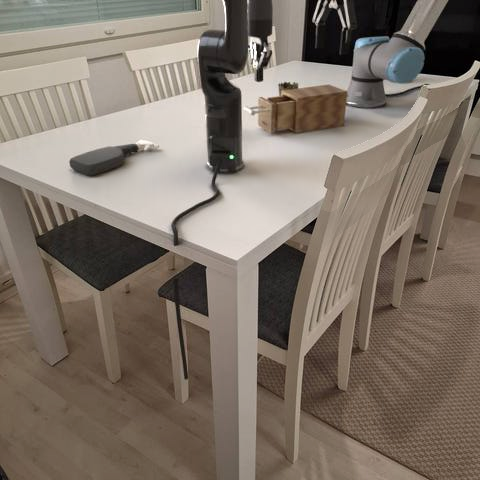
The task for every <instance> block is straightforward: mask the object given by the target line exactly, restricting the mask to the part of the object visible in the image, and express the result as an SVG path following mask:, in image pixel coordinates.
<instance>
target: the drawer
mask: <svg viewBox="0 0 480 480" xmlns="http://www.w3.org/2000/svg"><path fill="white" fill-rule="evenodd" d="M257 100H258V101H257V102H258V105H256V106H247V105H245V106H243V111H244V112H246V113H248V114H249V115H250V116H252V117H253V116H255V115H256V114H257V119H258V120H257V125H258V127H260V128H261V129H263V130H265V131H266V132H268V133H270V134H275V131H282V130H290V129H289V128H295V112H296V100H294V99H292V98H290V97H288V96H286V95H284V96H279V95H276V96H270V97H266V98H265V97H263V96H258V99H257ZM256 109H257V110H256Z"/></svg>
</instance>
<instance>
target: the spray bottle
mask: <svg viewBox="0 0 480 480" xmlns="http://www.w3.org/2000/svg"><path fill="white" fill-rule="evenodd" d="M159 148H160V145H159V144H158V143H155V142H151V141H148V140H144V139H139V140H138V141H137V142H135V143H129V144H128V143H126V144H122V145H113V146H105V147H100V148H97V149H94V150H90V151H87V152H83V153H81V154H78V155H74V156H73V157H70V159H69V161H68V162H69V167H70V168H71V169H72V170H74V171H75V172H78V173H81V174H83V175H85V176H89V177H90V176H91V177H92V176H95V175H99V174H102V173H105V172H107V171H110V170H113V169H116V168H118V167H120V166H122V165H123V164H124V163H125V158H126V156H127V155H131V154H133V153H138V151H140V150H143V151H144V152H146V151H147V150H149V149H159Z"/></svg>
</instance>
